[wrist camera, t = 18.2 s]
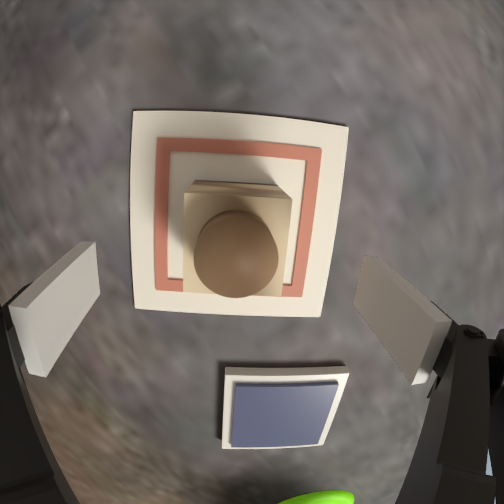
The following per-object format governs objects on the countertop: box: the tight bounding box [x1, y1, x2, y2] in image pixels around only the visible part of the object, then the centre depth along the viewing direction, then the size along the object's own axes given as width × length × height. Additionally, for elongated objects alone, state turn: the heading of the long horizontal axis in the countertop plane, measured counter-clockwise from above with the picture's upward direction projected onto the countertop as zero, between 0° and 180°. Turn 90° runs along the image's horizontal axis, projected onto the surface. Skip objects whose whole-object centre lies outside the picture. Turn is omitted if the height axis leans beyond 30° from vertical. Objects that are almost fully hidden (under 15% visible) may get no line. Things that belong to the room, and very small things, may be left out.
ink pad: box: [222, 366, 349, 449], centre depth 31 cm, size 12×12×2 cm
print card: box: [130, 111, 349, 317], centre depth 24 cm, size 16×16×1 cm
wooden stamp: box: [183, 180, 293, 298], centre depth 21 cm, size 6×6×8 cm
